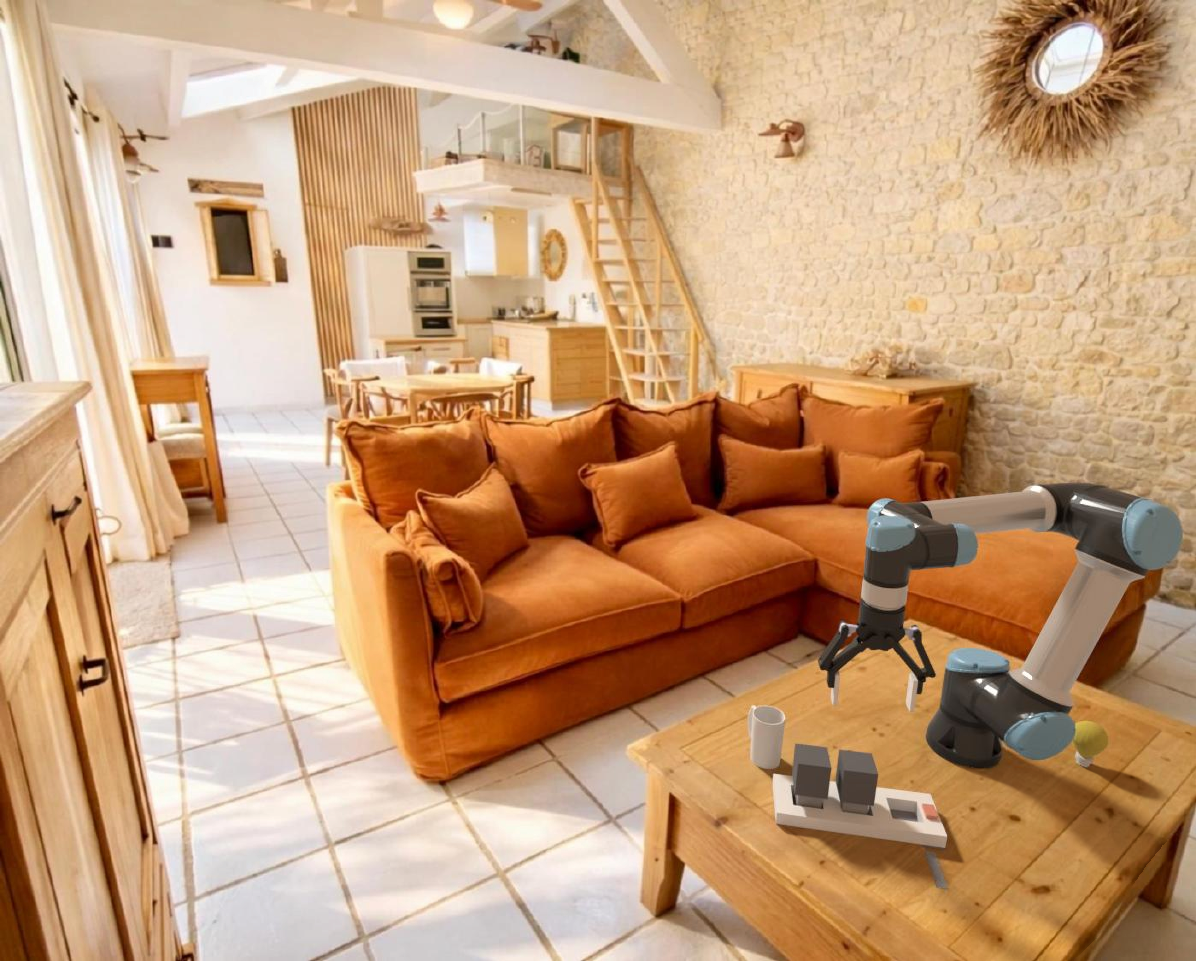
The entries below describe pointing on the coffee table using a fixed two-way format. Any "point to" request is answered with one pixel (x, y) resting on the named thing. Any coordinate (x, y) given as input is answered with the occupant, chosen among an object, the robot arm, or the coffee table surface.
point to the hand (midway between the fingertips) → (871, 704)
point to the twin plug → (811, 775)
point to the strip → (887, 819)
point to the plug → (856, 781)
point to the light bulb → (1089, 741)
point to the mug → (766, 735)
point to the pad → (936, 870)
